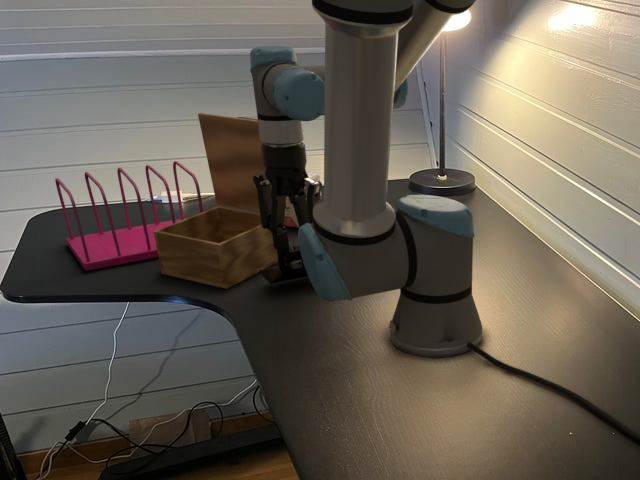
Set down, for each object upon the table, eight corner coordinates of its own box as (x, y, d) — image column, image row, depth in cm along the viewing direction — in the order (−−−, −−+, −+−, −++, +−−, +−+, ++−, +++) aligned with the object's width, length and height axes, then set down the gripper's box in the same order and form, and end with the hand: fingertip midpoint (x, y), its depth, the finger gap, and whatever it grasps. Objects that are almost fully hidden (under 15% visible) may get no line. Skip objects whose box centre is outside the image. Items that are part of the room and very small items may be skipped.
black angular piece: (320, 260, 144) (318, 238, 142) (335, 272, 139) (333, 249, 136) (258, 271, 138) (255, 248, 136) (271, 284, 133) (268, 260, 130)
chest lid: (264, 122, 136) (285, 114, 141) (197, 113, 142) (220, 105, 147) (279, 216, 146) (299, 205, 151) (216, 204, 152) (237, 194, 157)
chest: (226, 288, 137) (219, 245, 132) (161, 273, 142) (153, 231, 138) (285, 258, 151) (280, 217, 147) (224, 245, 157) (218, 205, 152)
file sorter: (213, 247, 155) (201, 174, 147) (85, 272, 142) (65, 193, 134) (187, 225, 167) (175, 156, 159) (67, 246, 154) (47, 172, 146)
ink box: (281, 226, 168) (275, 175, 162) (292, 219, 172) (286, 169, 166) (315, 231, 166) (310, 179, 160) (325, 224, 170) (321, 173, 164)
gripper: (337, 143, 127) (347, 269, 138) (255, 133, 133) (271, 254, 144) (312, 152, 121) (324, 282, 132) (227, 141, 127) (246, 266, 138)
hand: (296, 267), depth 138 cm, fingers closed on black angular piece, 5 cm apart
